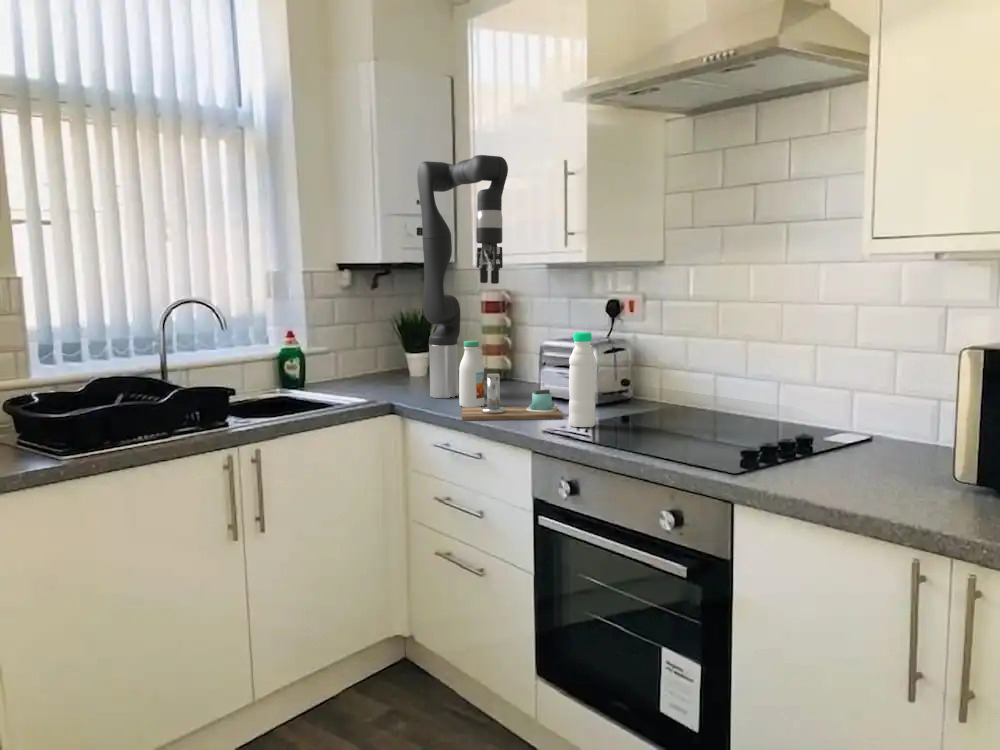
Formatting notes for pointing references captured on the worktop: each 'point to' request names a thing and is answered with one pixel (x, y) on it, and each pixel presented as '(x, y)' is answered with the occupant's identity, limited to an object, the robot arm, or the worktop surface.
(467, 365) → the milk bottle
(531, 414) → the board
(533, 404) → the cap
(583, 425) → the white bottle
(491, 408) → the post
